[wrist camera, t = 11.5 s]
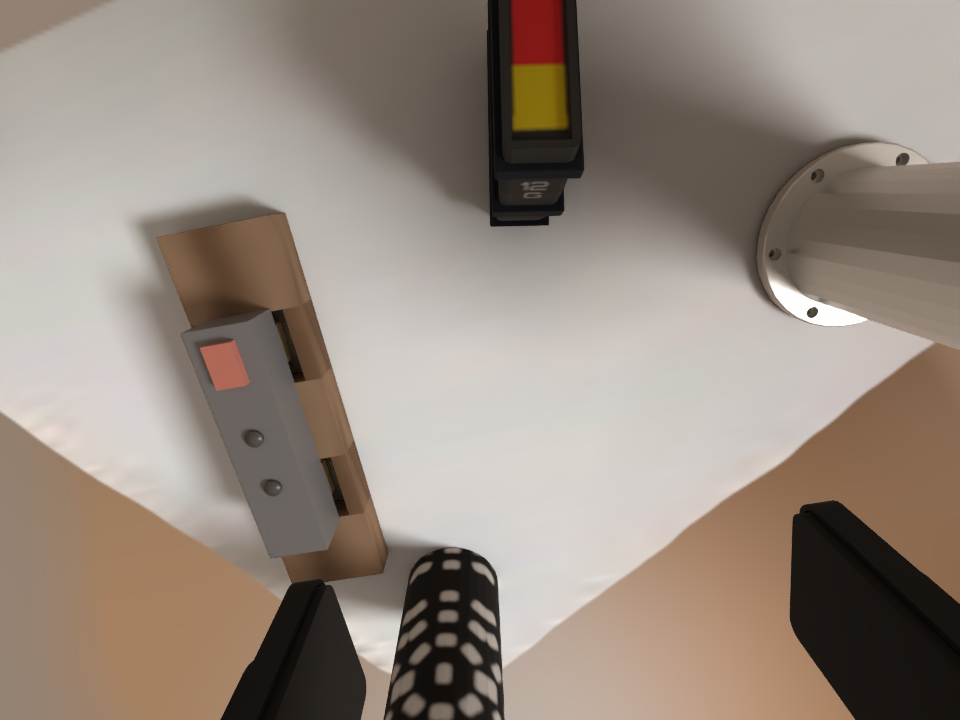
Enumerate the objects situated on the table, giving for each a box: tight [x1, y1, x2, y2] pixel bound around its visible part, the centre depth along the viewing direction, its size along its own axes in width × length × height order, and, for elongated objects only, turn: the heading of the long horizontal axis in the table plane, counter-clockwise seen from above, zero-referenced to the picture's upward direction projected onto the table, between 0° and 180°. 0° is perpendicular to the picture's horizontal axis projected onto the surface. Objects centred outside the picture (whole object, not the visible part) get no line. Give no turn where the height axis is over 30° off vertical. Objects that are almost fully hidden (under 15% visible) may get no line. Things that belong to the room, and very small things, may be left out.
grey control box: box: [181, 309, 340, 558], centre depth 36 cm, size 4×18×7 cm, turn 10°
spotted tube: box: [384, 548, 505, 720], centre depth 36 cm, size 8×8×20 cm
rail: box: [156, 213, 388, 584], centre depth 38 cm, size 8×30×2 cm, turn 10°
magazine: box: [487, 0, 584, 227], centre depth 27 cm, size 4×13×15 cm, turn 1°
